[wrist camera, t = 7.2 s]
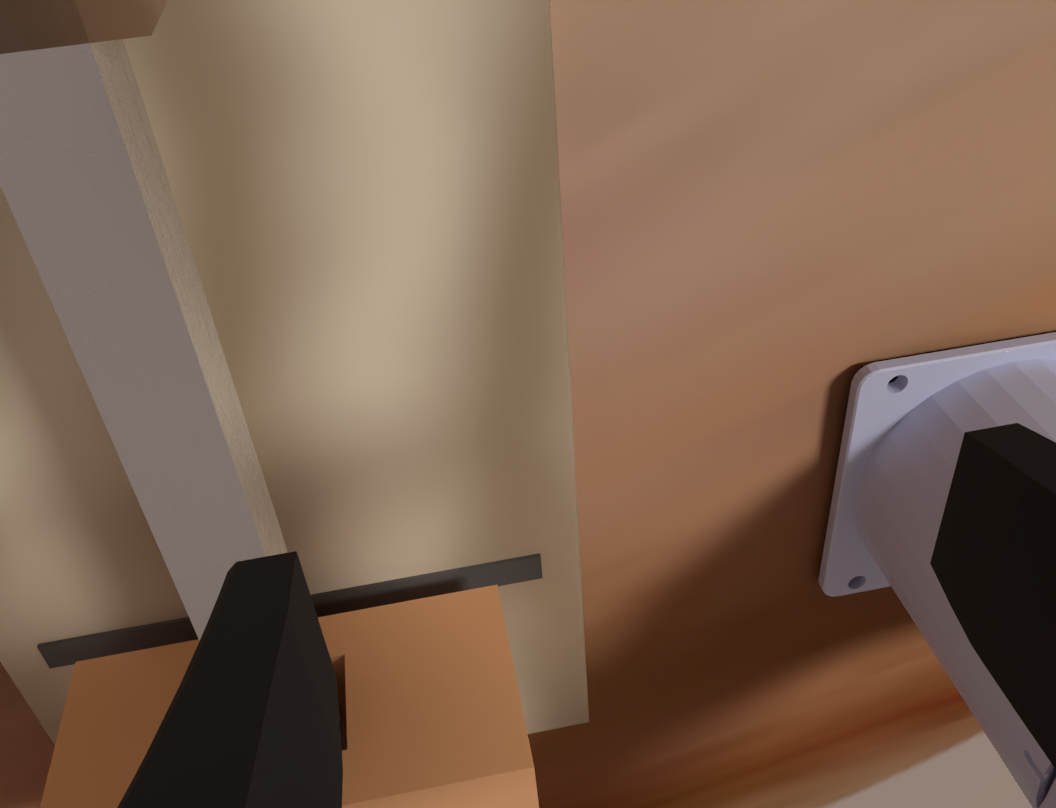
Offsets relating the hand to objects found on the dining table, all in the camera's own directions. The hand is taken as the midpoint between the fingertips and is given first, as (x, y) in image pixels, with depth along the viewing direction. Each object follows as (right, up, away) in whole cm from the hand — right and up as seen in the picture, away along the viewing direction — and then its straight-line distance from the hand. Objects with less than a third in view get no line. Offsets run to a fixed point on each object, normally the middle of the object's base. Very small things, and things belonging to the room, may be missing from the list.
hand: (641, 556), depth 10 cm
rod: (-7, -1, +8) cm, 10 cm away
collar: (-7, -5, +13) cm, 15 cm away
